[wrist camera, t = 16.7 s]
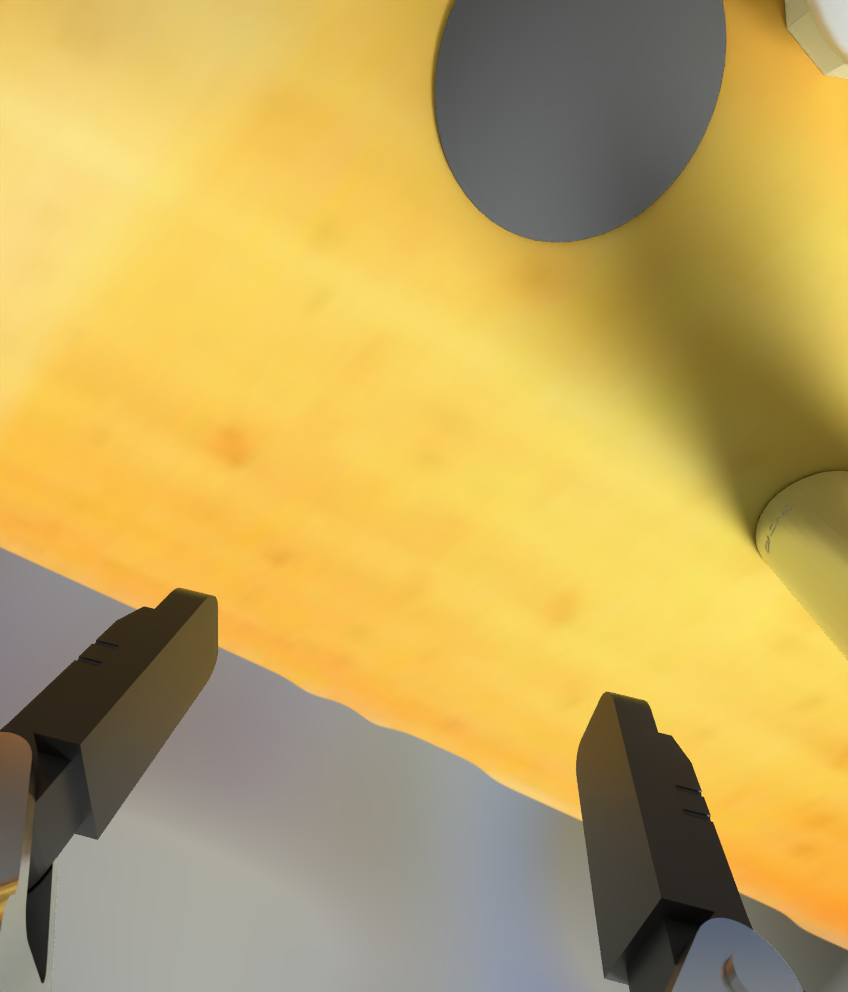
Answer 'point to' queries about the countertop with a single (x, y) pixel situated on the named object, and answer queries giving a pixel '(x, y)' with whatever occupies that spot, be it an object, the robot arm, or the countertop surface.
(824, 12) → the lid
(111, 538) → the countertop surface
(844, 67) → the bowl
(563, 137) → the mat
